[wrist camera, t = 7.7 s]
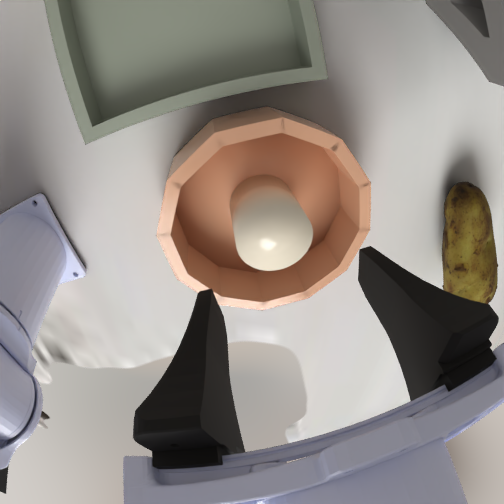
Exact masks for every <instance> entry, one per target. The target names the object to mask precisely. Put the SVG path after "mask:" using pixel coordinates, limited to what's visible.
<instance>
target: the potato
mask: <svg viewBox="0 0 504 504" xmlns="http://www.w3.org/2000/svg"><path fill="white" fill-rule="evenodd" d="M444 215H445V218H446V222H445V227H444V233H443V244H442V261H443V280H444V285H443V289H444V291H447V292H449V293H452V294H454V295H457V296H460V297H463V298H466V299H469V300H473V301H477V302H481V303H486V304H488V303H489V302H490V301H491V300H492V299H493V297H494V295H495V292H496V289H497V267H498V264H497V256H496V247H495V241H494V234H493V226H492V217H491V212H490V208H489V205H488V202H487V200H486V197H485V195H484V194H483V192H482V191H481V190H480V189H479V188H478V187H476V186H474V185H473V184H471V183H469V182H460V183H457V184H456V185H454V186H453V187H452V188H451V190H450V192H449V193H448V196H447V198H446V201H445V204H444Z"/></svg>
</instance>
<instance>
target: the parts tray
mask: <svg viewBox="0 0 504 504" xmlns="http://www.w3.org/2000/svg"><path fill="white" fill-rule="evenodd" d="M44 2H45V7H46V12H47V17H48V22H49V27H50V32H51V36H52V40H53V44H54V48H55V52H56V56H57V60H58V63H59V67H60V71H61V74H62V77H63V81H64V84H65V87H66V91H67V94H68V97H69V100H70V103H71V106H72V109H73V112H74V115H75V118H76V120H77V123H78V126H79V129H80V132H81V134H82V137H83V140H84V142H85V145H86V144H88V143H90V142H92V141H95V140H97V139H99V138H102V137H104V136H106V135H109V134H111V133H114V132H116V131H119V130H121V129H124V128H126V127H129V126H132V125H134V124H137V123H140V122H142V121H145V120H148V119H151V118H154V117H157V116H160V115H163V114H166V113H169V112H172V111H175V110H178V109H182V108H185V107H188V106H192V105H195V104H199V103H203V102H206V101H210V100H214V99H218V98H222V97H226V96H230V95H235V94H239V93H244V92H248V91H253V90H258V89H264V88H269V87H275V86H280V85H287V84H293V83H300V82H308V81H316V80H325V79H328V76H327V69H326V63H325V57H324V52H323V46H322V41H321V36H320V31H319V26H318V21H317V16H316V12H315V8H314V3H313V0H44Z"/></svg>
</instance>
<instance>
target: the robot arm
mask: <svg viewBox="0 0 504 504" xmlns="http://www.w3.org/2000/svg"><path fill="white" fill-rule="evenodd" d="M34 200H35V201H36V202H37V204H35V202H34ZM75 272H76V273H78V274H76V273H75ZM85 275H86V269H85V267H84V266H83V264H82V262H81V261H80V259H79V257H78V256H77V254H76V252H75V251H74V249H73V247H72V246H71V244H70V242H69V240H68V239H67V237H66V235H65V233H64V232H63V230H62V228H61V226H60V224H59V223H58V221H57V219H56V217H55V215H54V213H53V211H52V209H51V207H50V205H49V203H48V201H47V199H46V197H45V196H44V195H43V194H41V193H38V194H36V195H34V196H32V197H31V198H29V199H27V200H25V201H23V202H21V203H19V204H18V205H16V206H14V207H12V208H10V209H9V210H7V211H5V212H4V213H2V214H0V469H4V468H6V467H8V464H9V462H10V460H11V457H12V455H13V453H14V452H15V450H16V449H17V448H18V447H19V445H21V444H22V443H23V442H24V441H26V440H27V439H28V438H29V437H30V436H31V434H32V433H33V432H34V430H35V428H36V426H37V424H38V422H39V419H40V416H41V412H42V404H43V398H42V390H41V387H40V384H39V382H38V381H37V379H36V378H35V376H34V375H33V372H34V369H35V366H36V362H37V361H36V360H35V359H34V357H33V355H32V350H33V347H34V344H35V341H36V338H37V335H38V333H39V330H40V327H41V325H42V322H43V320H44V317H45V315H46V312H47V310H48V307H49V305H50V303H51V300H52V298H53V296H54V294H55V291H56V289H57V287H58V285H59V284H62V283H65V282H69V281H72V280H75V279H79V278H82V277H85ZM358 281H359V283H360V285H361V288H362V290H363V292H364V294H365V297H366V298H367V300H368V302H369V303H370V305H371V307H372V309H373V310H374V312H375V314H376V315H377V317H378V319H379V320H380V322H381V324H382V325H383V327H384V329H385V330H386V332H387V334H388V336H389V338H390V341H391V343H392V345H393V348H394V350H395V353H396V355H397V358H398V361H399V363H400V366H401V369H402V372H403V375H404V378H405V381H406V385H407V388H408V392H409V396H410V399H411V401H410V402H408V403H406V404H404V405H402V406H399V407H397V408H395V409H392V410H390V411H388V412H385V413H383V414H380V415H378V416H375V417H373V418H370V419H367V420H365V421H362V422H359V423H356V424H354V425H351V426H348V427H345V428H342V429H339V430H336V431H332V432H329V433H326V434H323V435H319V436H316V437H312V438H308V439H305V440H301V441H297V442H293V443H289V444H285V445H281V446H276V447H271V448H266V449H261V450H256V451H250V452H245V449H244V445H243V441H242V437H241V433H240V429H239V425H238V420H237V416H236V411H235V406H234V401H233V395H232V390H231V384H230V376H229V361H228V344H227V333H226V327H225V321H224V316H223V314H222V311H221V309H220V307H219V304H218V302H217V300H216V297H215V295H214V292H213V290H212V288H211V289H207V290H203V291H199V293H198V295H197V299H196V302H195V306H194V309H193V312H192V315H191V318H190V321H189V324H188V327H187V329H186V332H185V334H184V337H183V339H182V341H181V344H180V346H179V348H178V350H177V352H176V354H175V356H174V358H173V360H172V362H171V363H170V365H169V367H168V368H167V370H166V372H165V373H164V375H163V376H162V378H161V380H160V381H159V382H158V384H157V385H156V386H155V388H154V389H153V391H152V392H151V394H149V396H148V397H147V398H146V399H145V400H144V401H143V403H142V404H141V405H140V406H139V407H138V408H137V409H136V411H135V417H134V429H133V438H134V440H135V441H136V442H137V443H139V444H140V445H142V446H144V447H145V448H147V449H149V450H151V451H152V457H148V456H125V457H124V463H123V464H124V465H123V466H124V467H123V468H124V469H123V474H124V475H123V477H124V478H123V479H124V480H123V481H124V504H468V503H467V500H466V498H465V495H464V492H463V489H462V486H461V483H460V481H459V478H458V475H457V472H456V470H455V468H454V465H453V462H452V460H451V457H450V455H449V452H448V450H447V447H446V445H445V442H447V441H448V440H450V439H452V438H453V437H455V436H457V435H458V434H460V433H461V432H463V431H464V430H466V429H467V428H469V427H470V426H472V425H473V424H475V423H476V422H477V421H479V420H480V419H482V418H483V417H485V416H486V415H487V414H489V413H490V412H491V411H493V410H494V409H495V408H497V407H498V406H499V405H501V404H502V403H503V402H504V343H502V344H501V345H499V346H498V347H497V348H496V349H495V350H494V351H493V352H492V350H491V349H490V347H491V345H492V343H491V342H490V340H489V338H490V336H491V335H492V333H493V331H494V330H495V328H496V326H497V324H498V320H499V318H498V316H497V314H496V313H495V312H494V310H493V309H492V308H491V306H490V305H489V304H486V303H481V302H477V301H473V300H469V299H466V298H463V297H460V296H457V295H454V294H452V293H449V292H447V291H444V290H442V289H440V288H438V287H436V286H434V285H432V284H430V283H428V282H426V281H424V280H422V279H420V278H418V277H417V276H415V275H413V274H412V273H410V272H408V271H407V270H405V269H404V268H402V267H401V266H399V265H398V264H396V263H395V262H393V261H392V260H390V259H389V258H387V257H386V256H384V255H383V254H381V253H380V252H379V251H377V250H376V249H374V248H373V247H371V246H370V247H366V248H363V249H360V251H359V274H358ZM311 455H312V456H311ZM308 456H309V457H308ZM304 457H306V458H304ZM299 458H302V459H299ZM296 459H299V460H296ZM291 460H296V461H293V462H290V463H287V461H291Z"/></svg>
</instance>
